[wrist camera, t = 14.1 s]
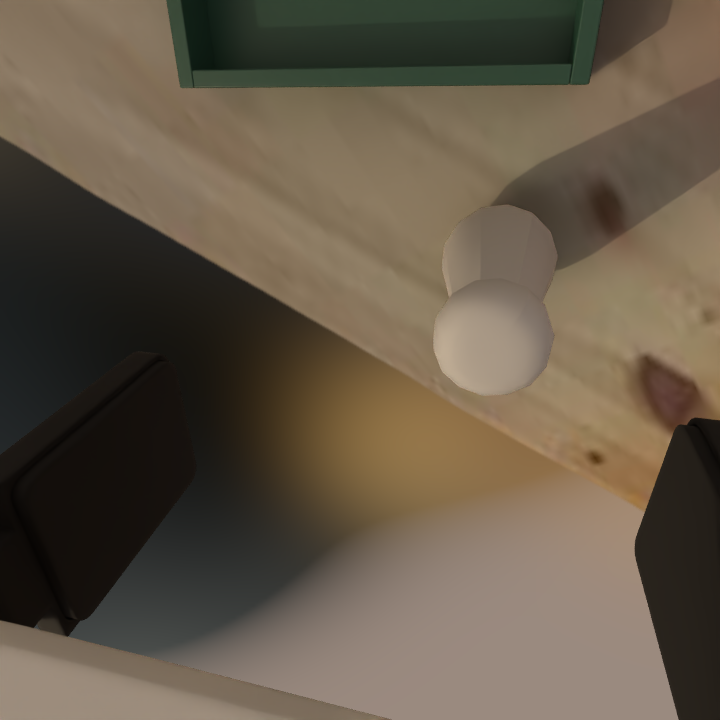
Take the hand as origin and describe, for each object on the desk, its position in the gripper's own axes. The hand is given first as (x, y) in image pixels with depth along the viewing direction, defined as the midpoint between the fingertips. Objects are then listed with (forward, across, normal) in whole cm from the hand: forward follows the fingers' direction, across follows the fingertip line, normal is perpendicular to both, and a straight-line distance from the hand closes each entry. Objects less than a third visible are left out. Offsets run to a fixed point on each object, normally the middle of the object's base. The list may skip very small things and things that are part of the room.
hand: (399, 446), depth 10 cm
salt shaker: (+22, -2, +3) cm, 22 cm away
